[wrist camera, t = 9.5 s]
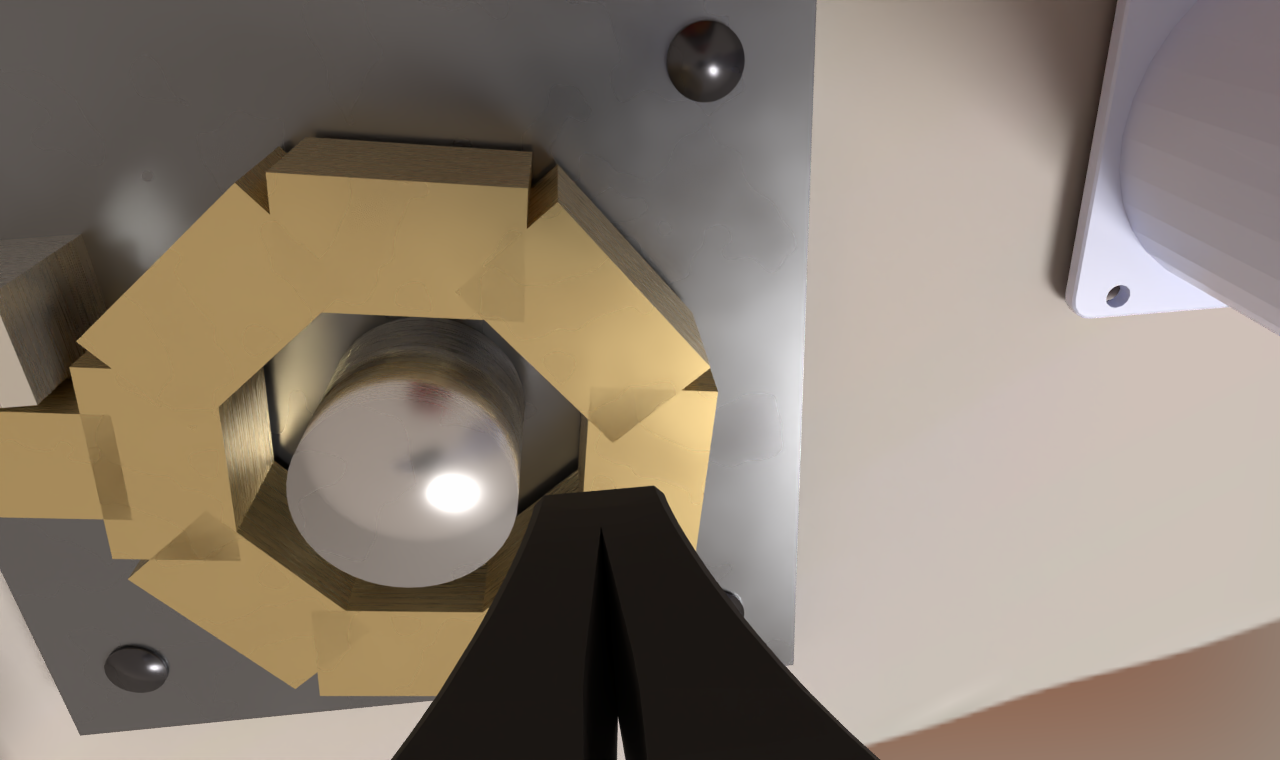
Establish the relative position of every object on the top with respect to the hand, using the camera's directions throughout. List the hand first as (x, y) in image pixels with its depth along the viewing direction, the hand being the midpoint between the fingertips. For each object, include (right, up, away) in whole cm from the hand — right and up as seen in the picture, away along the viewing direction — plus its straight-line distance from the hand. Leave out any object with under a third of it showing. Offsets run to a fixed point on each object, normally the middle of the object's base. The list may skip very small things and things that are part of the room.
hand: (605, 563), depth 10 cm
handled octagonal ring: (-7, +2, +8) cm, 11 cm away
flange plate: (-5, +2, +10) cm, 11 cm away
